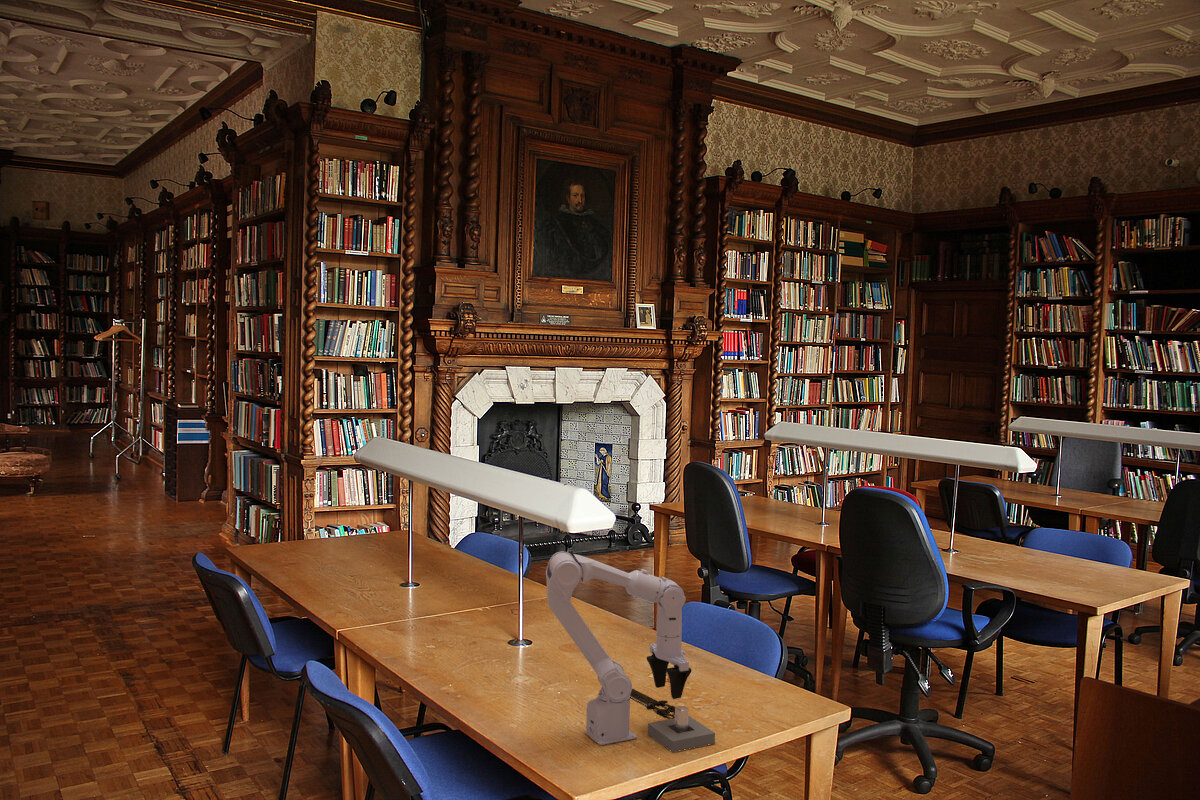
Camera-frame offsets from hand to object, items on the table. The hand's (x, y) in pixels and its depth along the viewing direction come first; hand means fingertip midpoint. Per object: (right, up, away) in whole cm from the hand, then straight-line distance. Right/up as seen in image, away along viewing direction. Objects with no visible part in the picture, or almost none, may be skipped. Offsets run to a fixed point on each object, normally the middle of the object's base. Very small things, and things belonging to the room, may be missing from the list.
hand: (668, 692), depth 212 cm
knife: (-4, -9, +18) cm, 21 cm away
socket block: (+3, -10, -3) cm, 10 cm away
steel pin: (+3, -10, -3) cm, 10 cm away
